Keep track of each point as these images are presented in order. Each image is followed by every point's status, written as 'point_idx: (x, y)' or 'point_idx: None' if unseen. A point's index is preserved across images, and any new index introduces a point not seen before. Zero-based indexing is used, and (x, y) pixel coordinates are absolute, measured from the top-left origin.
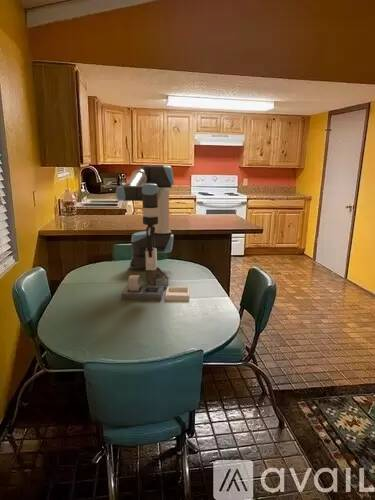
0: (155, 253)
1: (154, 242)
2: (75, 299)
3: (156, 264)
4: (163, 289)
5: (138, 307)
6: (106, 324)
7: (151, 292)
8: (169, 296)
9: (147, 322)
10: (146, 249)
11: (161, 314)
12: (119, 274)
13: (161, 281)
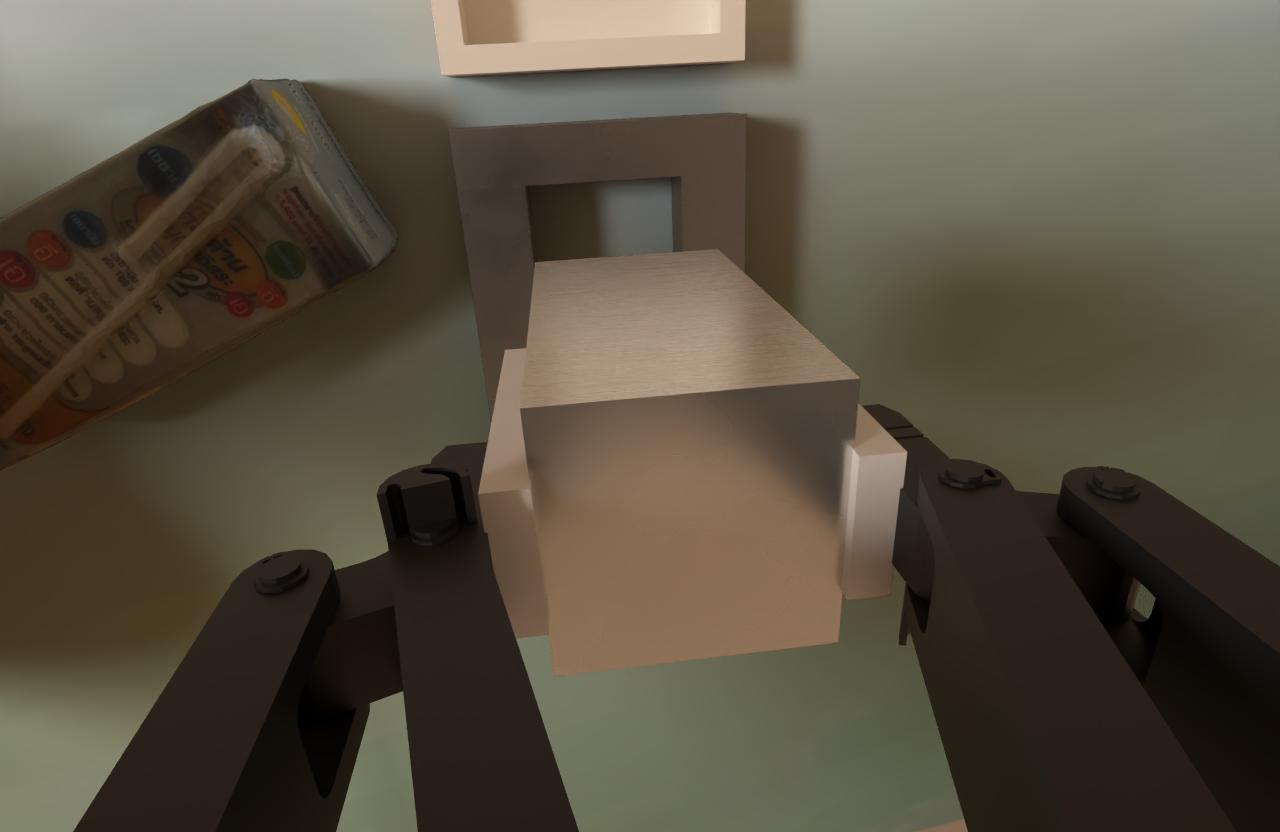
0: (829, 353)
1: (314, 616)
2: (742, 784)
3: (609, 273)
4: (466, 128)
5: (904, 315)
6: (1170, 469)
7: (690, 248)
8: (740, 3)
9: (1212, 167)
10: (696, 652)
11: (1081, 55)
12: (82, 702)
13: (335, 180)
